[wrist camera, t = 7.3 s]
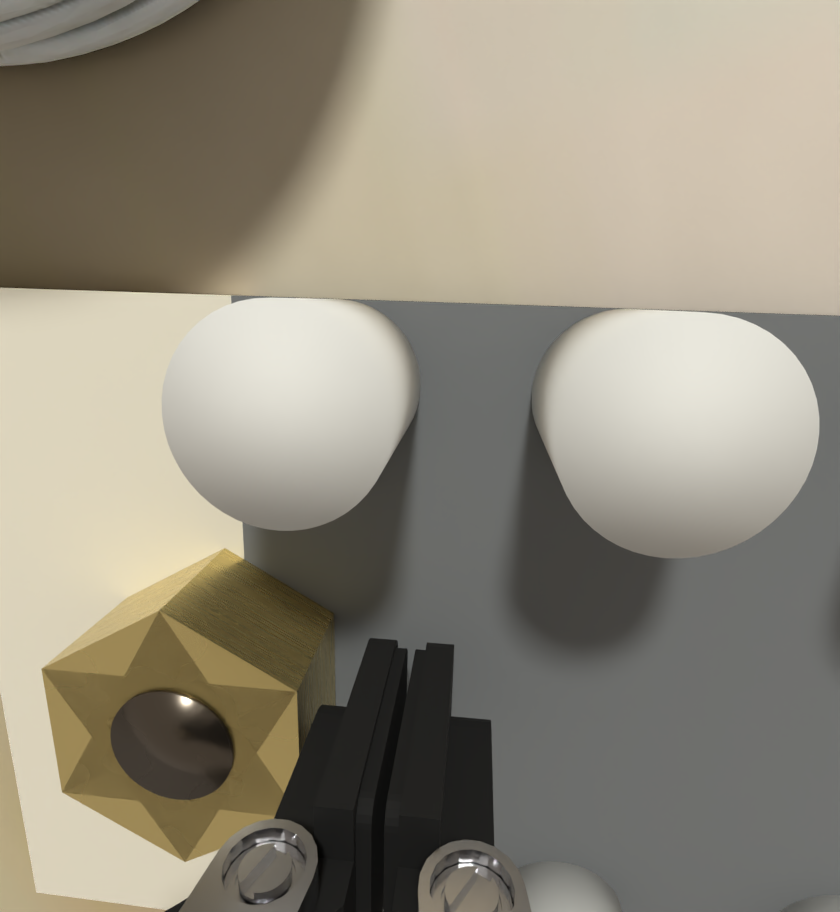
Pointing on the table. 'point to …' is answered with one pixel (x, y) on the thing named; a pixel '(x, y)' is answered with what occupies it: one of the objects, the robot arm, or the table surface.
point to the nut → (192, 703)
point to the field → (464, 558)
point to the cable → (75, 26)
